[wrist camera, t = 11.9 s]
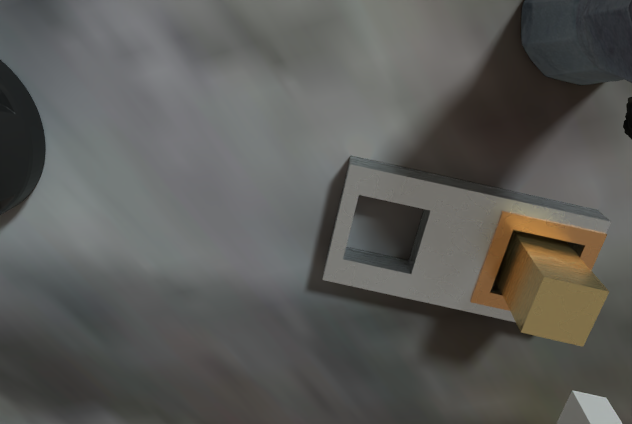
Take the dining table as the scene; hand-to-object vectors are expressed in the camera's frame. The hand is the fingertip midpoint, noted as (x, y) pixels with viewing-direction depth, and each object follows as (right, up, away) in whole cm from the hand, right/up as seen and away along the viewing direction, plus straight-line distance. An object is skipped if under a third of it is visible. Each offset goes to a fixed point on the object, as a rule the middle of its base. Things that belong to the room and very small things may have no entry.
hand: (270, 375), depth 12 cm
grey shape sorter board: (+13, +1, +32) cm, 35 cm away
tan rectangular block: (+18, 0, +33) cm, 37 cm away
